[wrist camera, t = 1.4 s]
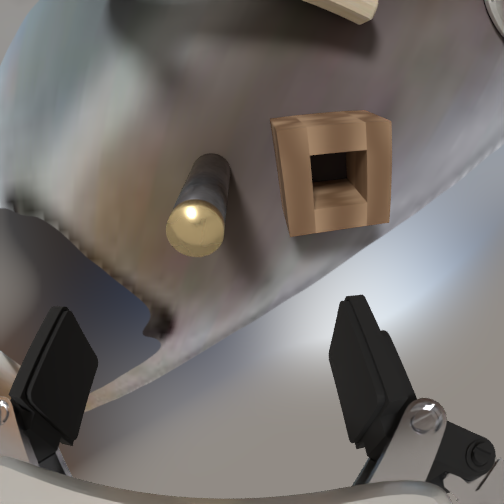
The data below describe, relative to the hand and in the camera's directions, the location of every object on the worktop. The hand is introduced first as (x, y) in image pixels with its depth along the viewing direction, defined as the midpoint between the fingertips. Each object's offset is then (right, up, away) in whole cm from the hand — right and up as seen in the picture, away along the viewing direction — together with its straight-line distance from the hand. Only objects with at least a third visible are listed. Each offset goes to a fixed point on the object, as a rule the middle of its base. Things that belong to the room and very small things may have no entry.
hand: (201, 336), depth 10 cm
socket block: (+10, +14, +24) cm, 29 cm away
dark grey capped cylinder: (-3, +12, +24) cm, 27 cm away
